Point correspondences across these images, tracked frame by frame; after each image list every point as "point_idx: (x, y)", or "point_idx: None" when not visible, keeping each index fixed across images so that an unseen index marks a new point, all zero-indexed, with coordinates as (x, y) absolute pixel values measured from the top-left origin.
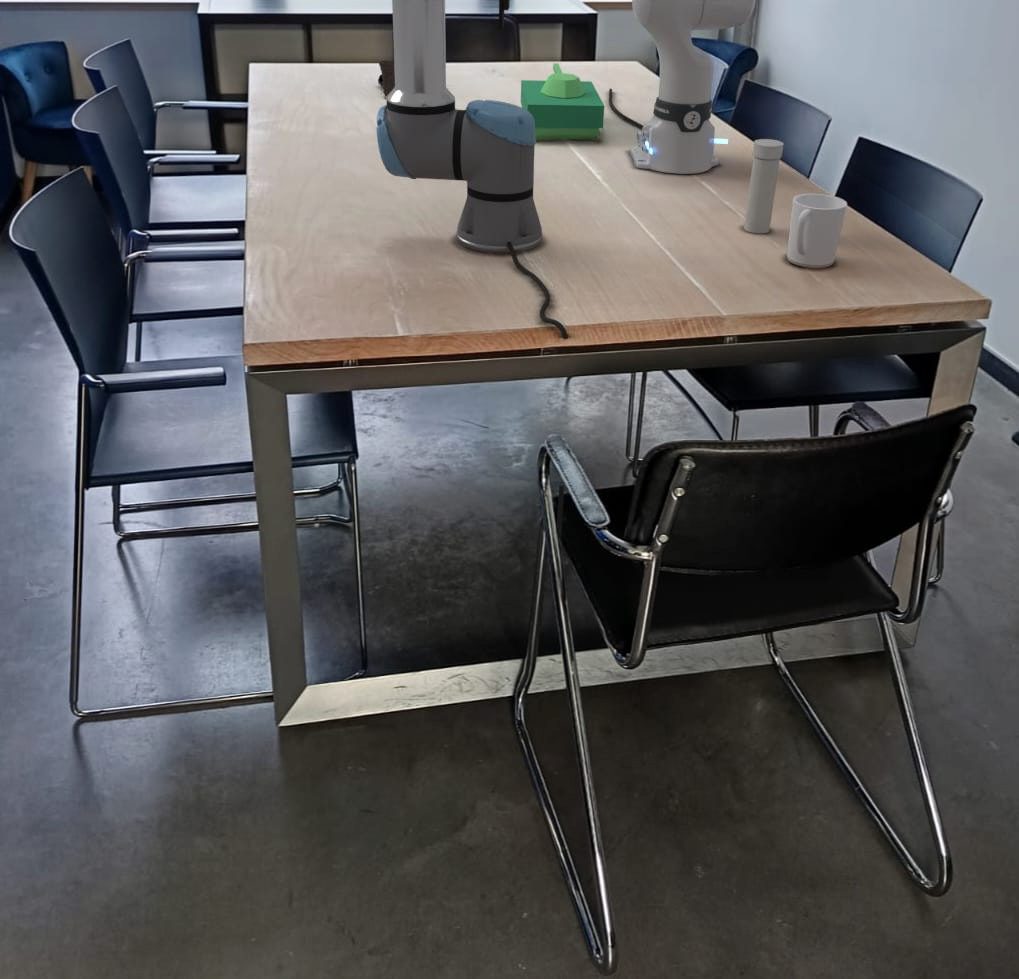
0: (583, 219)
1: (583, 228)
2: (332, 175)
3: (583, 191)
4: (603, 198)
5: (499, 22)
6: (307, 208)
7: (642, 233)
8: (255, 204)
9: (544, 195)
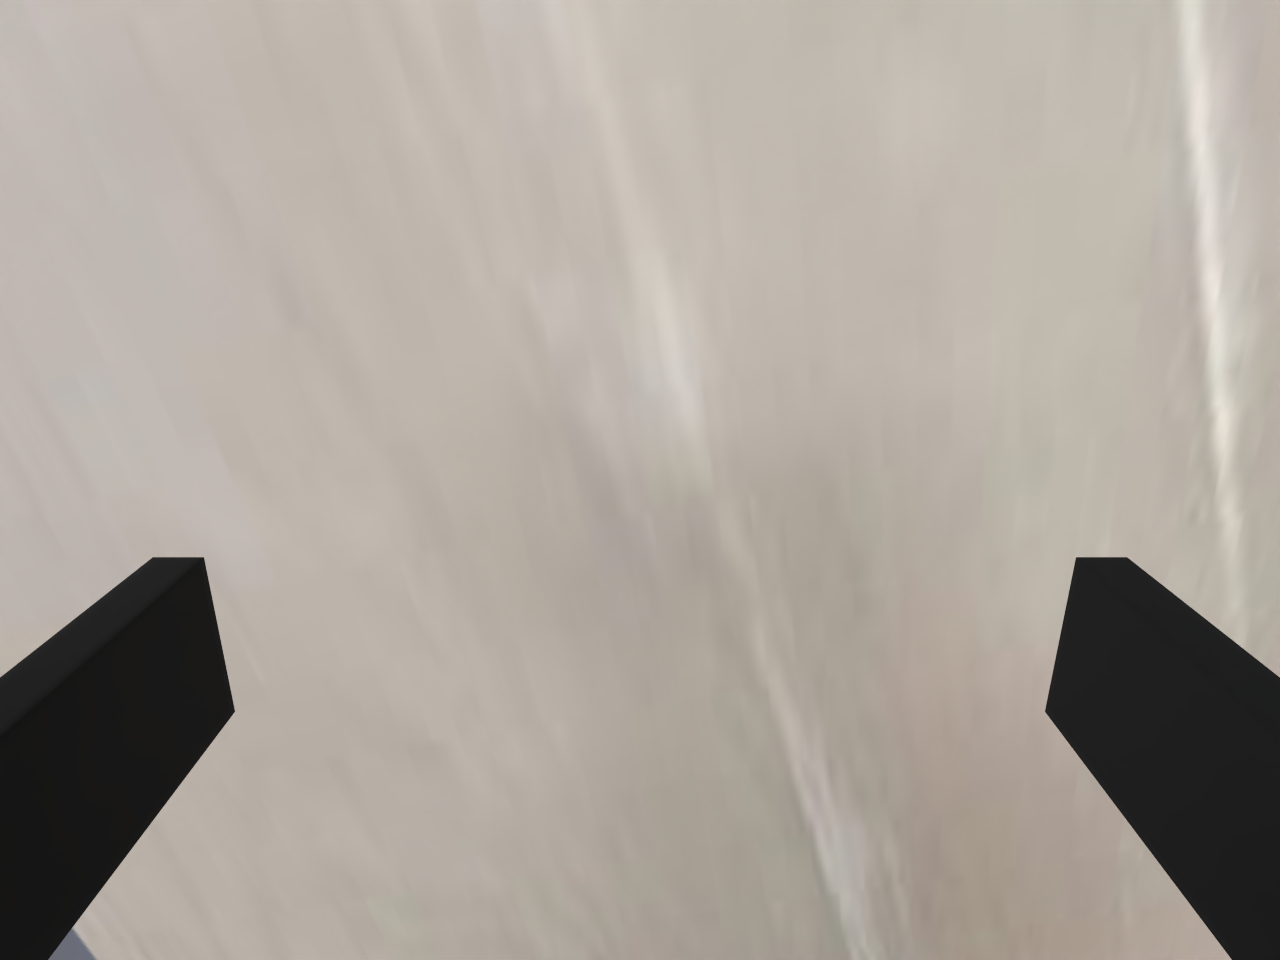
0: (1086, 882)
1: (1076, 947)
2: None
3: None
4: None
5: (1090, 759)
6: (234, 920)
7: None
8: None
9: (975, 687)
